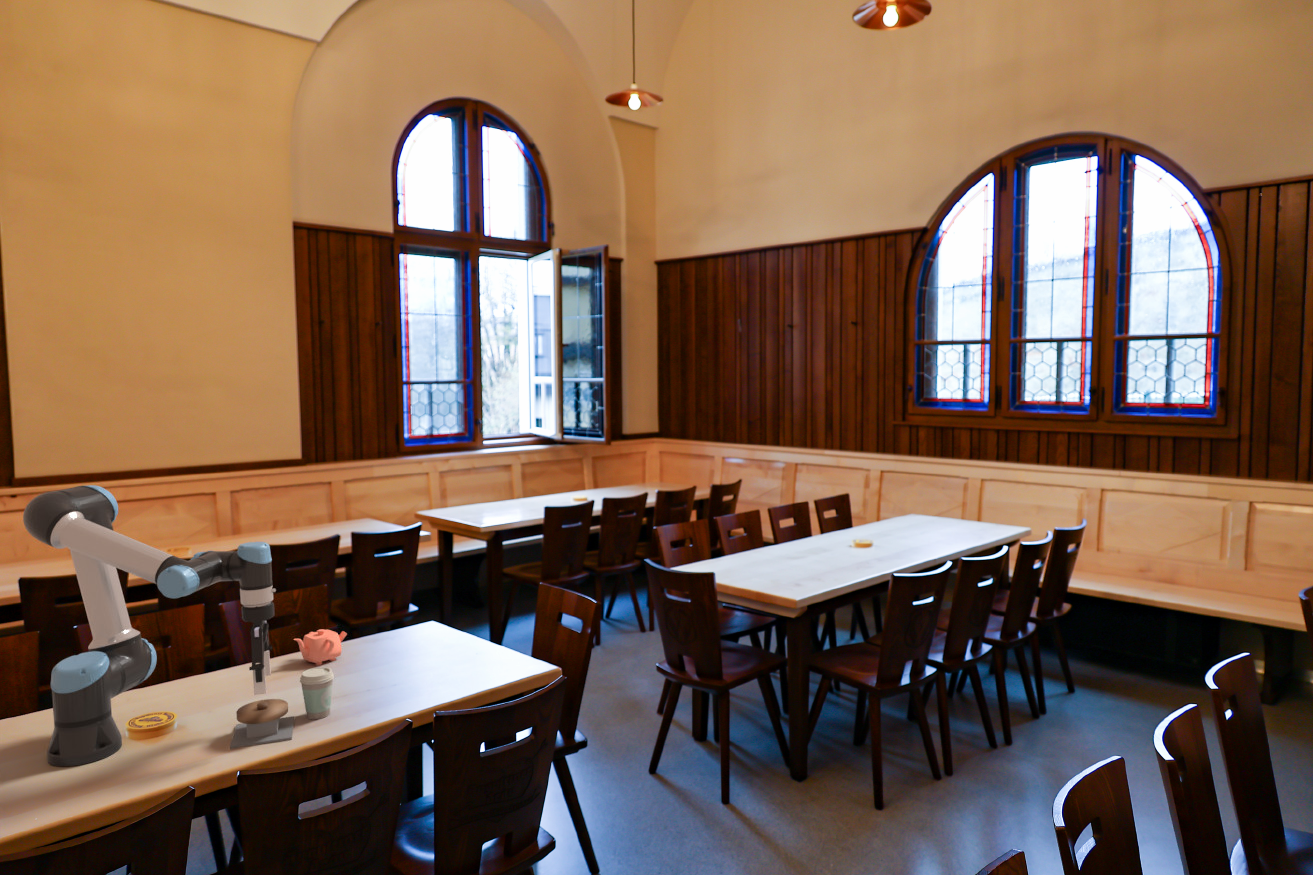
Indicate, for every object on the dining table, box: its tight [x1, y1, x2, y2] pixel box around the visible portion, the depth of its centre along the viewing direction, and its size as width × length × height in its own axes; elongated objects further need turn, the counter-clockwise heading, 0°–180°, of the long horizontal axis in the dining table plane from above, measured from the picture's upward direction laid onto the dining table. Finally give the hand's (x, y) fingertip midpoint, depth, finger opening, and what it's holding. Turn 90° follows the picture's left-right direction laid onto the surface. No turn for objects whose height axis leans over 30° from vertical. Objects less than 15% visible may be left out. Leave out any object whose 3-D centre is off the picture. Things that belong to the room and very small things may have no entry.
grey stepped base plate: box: [229, 715, 295, 750], centre depth 215 cm, size 14×14×5 cm
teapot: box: [293, 629, 348, 666], centre depth 269 cm, size 14×12×10 cm
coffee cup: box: [299, 666, 335, 720], centre depth 226 cm, size 9×8×12 cm
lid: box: [235, 698, 289, 724], centre depth 215 cm, size 12×12×3 cm
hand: (262, 684), depth 214 cm, fingers open, 13 cm apart
